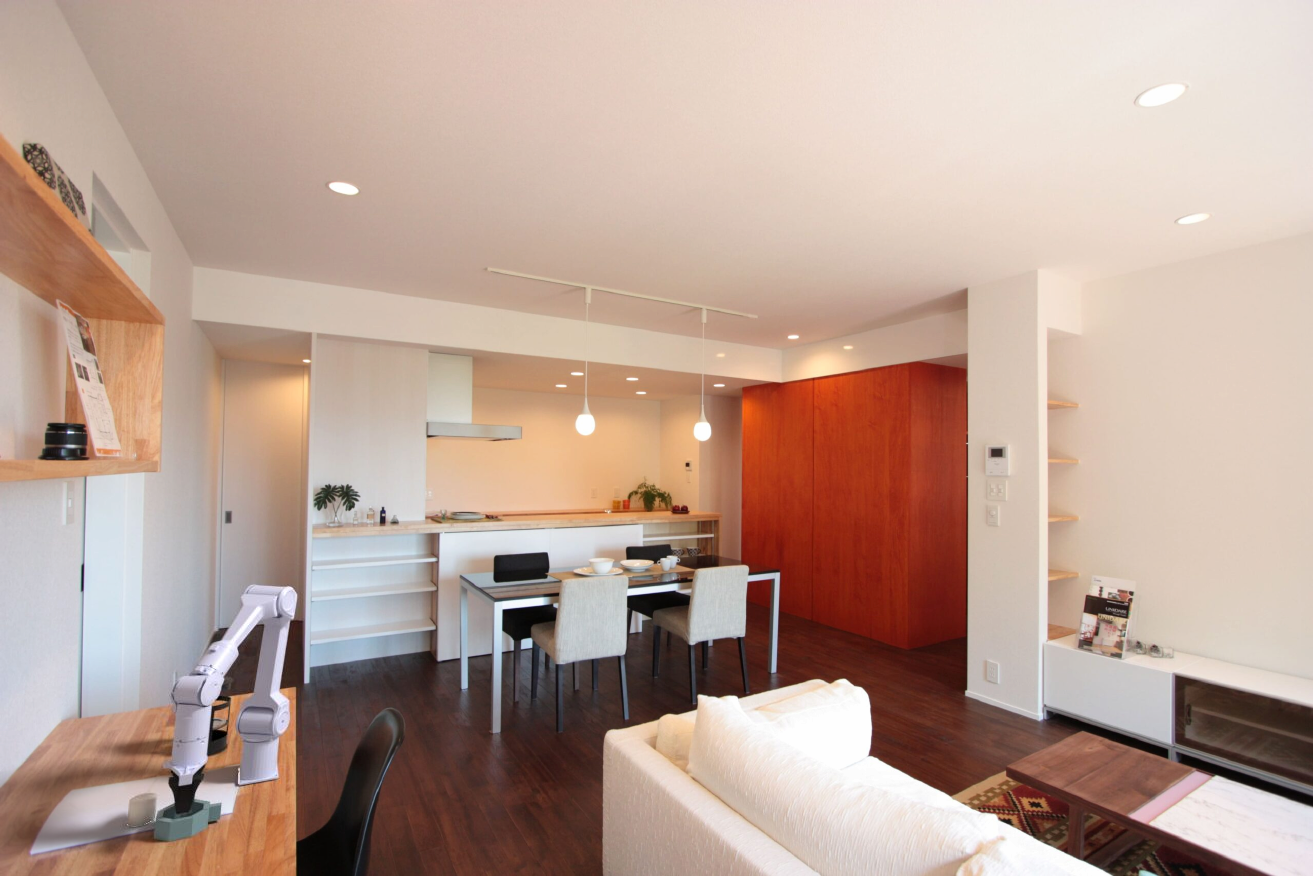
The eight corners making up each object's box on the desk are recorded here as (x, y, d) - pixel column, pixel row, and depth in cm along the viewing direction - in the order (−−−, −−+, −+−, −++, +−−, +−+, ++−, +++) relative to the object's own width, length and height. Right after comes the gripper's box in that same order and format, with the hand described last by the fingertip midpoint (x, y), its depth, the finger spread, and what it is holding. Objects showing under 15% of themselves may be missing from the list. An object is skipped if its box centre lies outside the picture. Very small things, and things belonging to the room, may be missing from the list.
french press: (228, 753, 158) (238, 659, 160) (182, 762, 152) (192, 664, 154) (225, 737, 167) (234, 648, 169) (181, 745, 162) (191, 652, 164)
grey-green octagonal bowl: (157, 824, 126) (159, 805, 126) (220, 811, 131) (222, 794, 132) (151, 845, 119) (154, 825, 119) (219, 831, 124) (221, 812, 125)
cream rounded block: (128, 818, 127) (131, 795, 128) (156, 813, 130) (158, 791, 130) (125, 829, 124) (127, 805, 124) (153, 823, 126) (156, 800, 126)
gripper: (169, 727, 130) (162, 796, 129) (162, 754, 118) (153, 830, 117) (211, 722, 134) (204, 789, 133) (208, 747, 122) (200, 821, 120)
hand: (183, 808), depth 125 cm, fingers closed on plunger, 3 cm apart
